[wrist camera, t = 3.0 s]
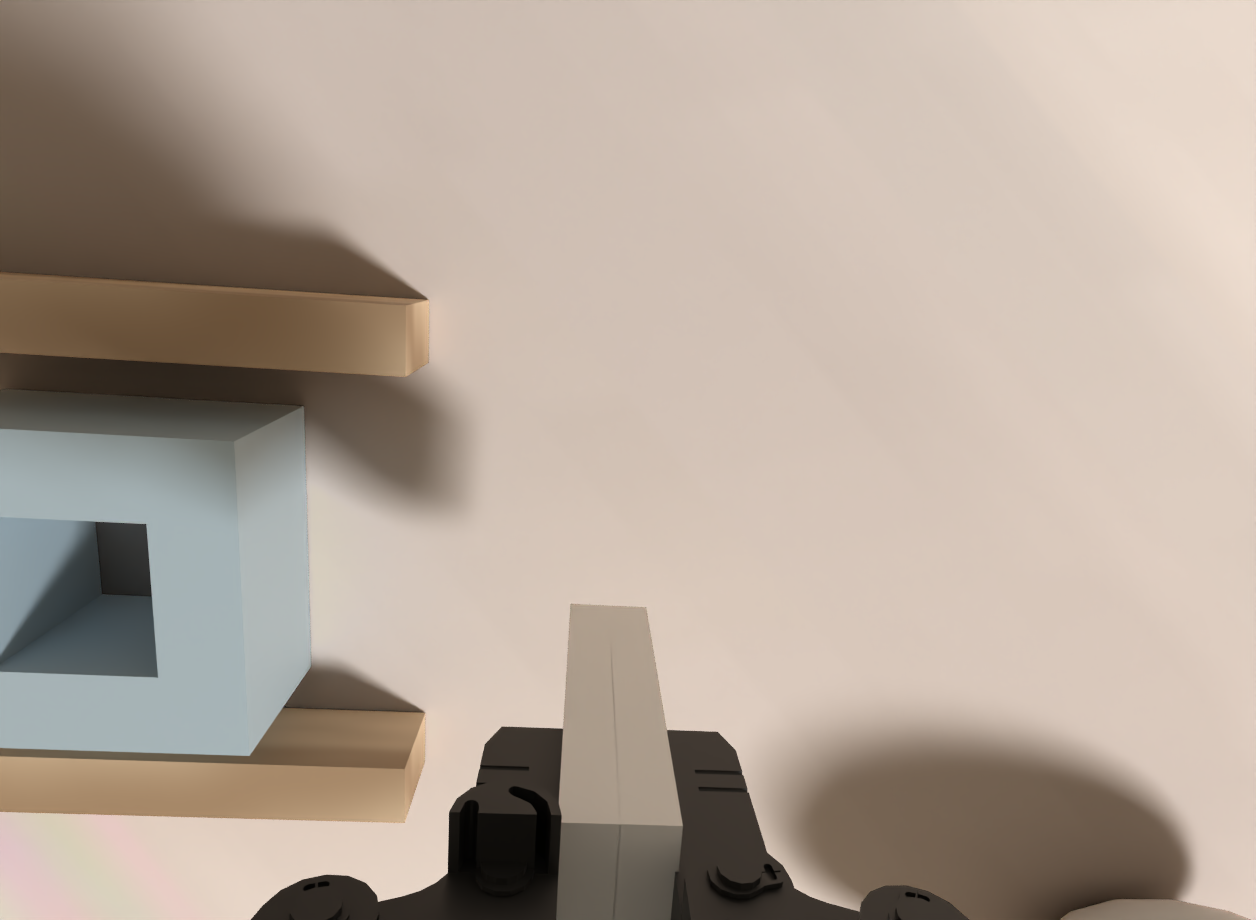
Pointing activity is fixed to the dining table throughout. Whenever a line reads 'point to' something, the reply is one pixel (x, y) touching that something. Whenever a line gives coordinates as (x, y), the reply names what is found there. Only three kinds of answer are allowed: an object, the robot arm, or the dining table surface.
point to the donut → (1150, 911)
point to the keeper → (151, 572)
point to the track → (298, 738)
